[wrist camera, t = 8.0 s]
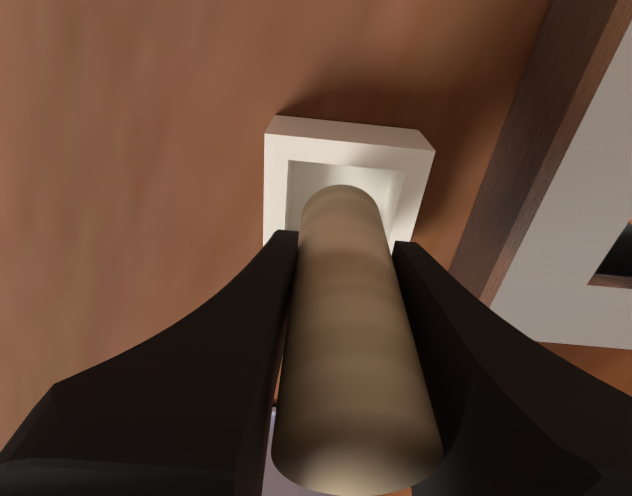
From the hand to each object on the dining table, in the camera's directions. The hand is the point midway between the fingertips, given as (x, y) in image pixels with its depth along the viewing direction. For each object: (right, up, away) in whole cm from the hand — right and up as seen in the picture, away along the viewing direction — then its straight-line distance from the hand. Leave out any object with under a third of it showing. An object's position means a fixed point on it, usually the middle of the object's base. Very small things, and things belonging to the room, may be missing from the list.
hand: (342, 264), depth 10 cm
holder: (0, +3, +5) cm, 6 cm away
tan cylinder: (0, +1, +2) cm, 2 cm away
